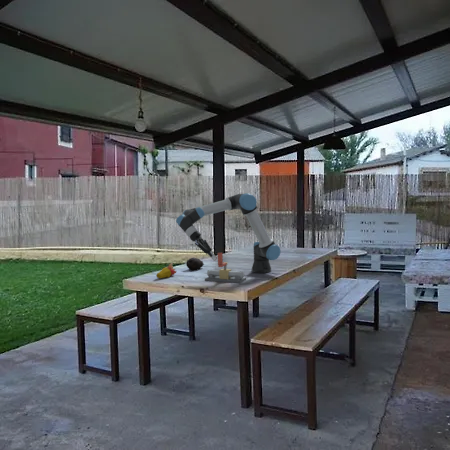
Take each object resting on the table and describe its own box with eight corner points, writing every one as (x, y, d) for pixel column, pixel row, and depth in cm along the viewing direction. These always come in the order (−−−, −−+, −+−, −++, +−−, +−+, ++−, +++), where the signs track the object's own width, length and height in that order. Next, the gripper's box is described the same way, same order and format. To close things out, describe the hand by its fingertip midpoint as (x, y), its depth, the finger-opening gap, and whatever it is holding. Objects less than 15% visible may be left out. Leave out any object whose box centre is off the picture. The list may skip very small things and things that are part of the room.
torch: (157, 285, 343) (171, 275, 366) (165, 280, 340) (180, 270, 363) (151, 275, 343) (166, 265, 366) (159, 270, 340) (174, 261, 363)
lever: (223, 264, 338) (223, 250, 338) (228, 264, 337) (227, 250, 337) (217, 267, 323) (217, 253, 323) (221, 267, 323) (221, 253, 322)
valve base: (212, 278, 347) (211, 263, 347) (246, 280, 337) (245, 264, 336) (204, 280, 336) (204, 265, 336) (239, 282, 326) (239, 267, 325)
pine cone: (205, 268, 397) (205, 255, 396) (196, 271, 380) (196, 258, 379) (193, 267, 400) (193, 255, 400) (184, 270, 384) (184, 258, 383)
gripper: (194, 237, 337) (216, 262, 331) (185, 238, 325) (207, 264, 320) (201, 229, 335) (223, 254, 329) (192, 230, 323) (215, 257, 317)
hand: (215, 259), depth 324 cm, fingers closed
